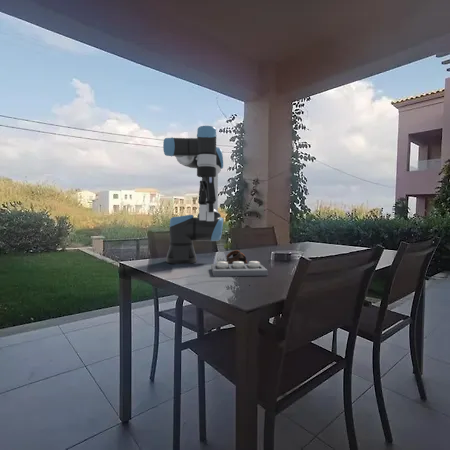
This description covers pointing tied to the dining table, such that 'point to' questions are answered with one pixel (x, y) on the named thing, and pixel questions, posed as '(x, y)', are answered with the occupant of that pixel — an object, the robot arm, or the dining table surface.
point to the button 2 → (254, 264)
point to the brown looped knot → (236, 257)
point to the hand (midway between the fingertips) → (206, 220)
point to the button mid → (238, 265)
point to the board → (239, 271)
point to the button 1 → (222, 265)
